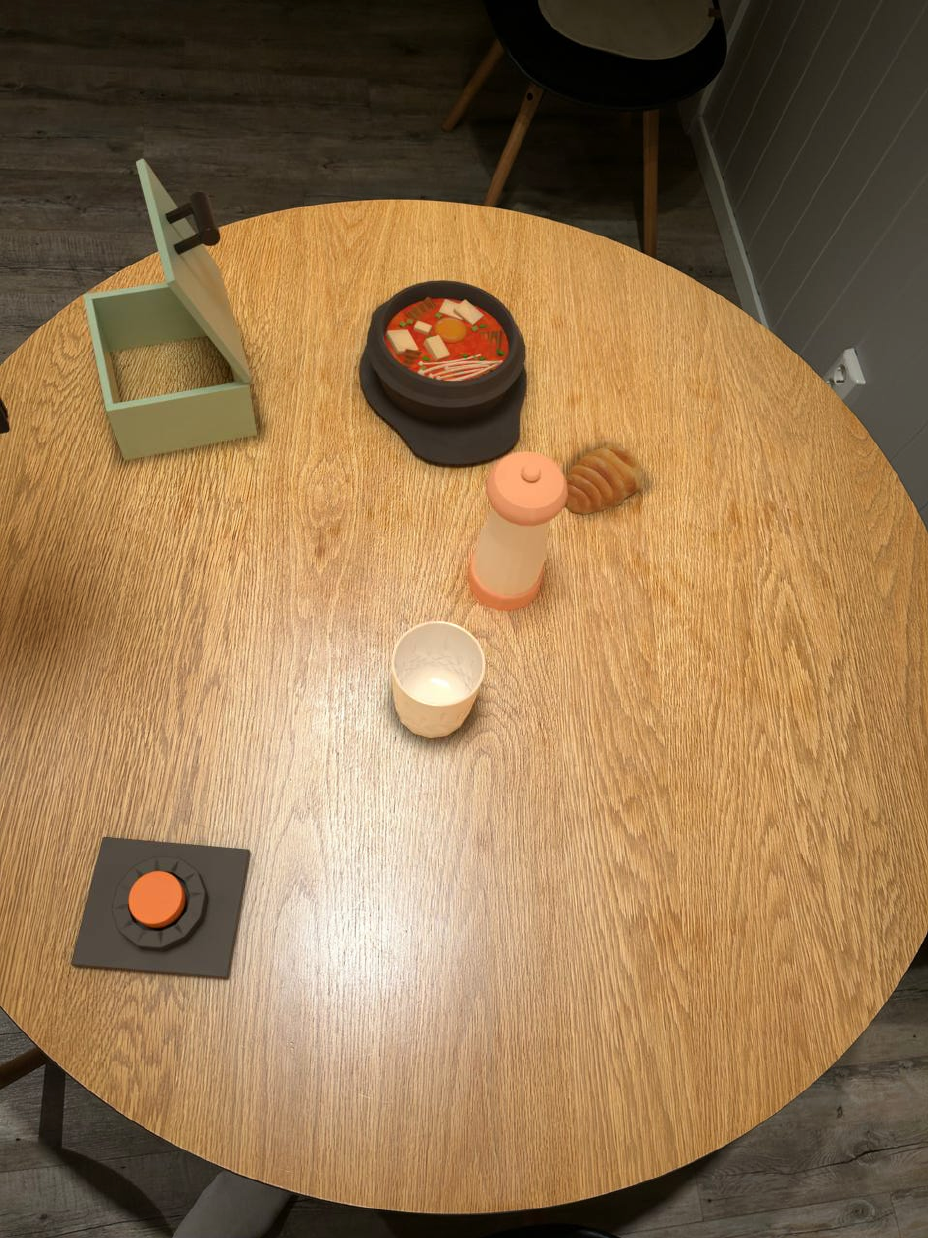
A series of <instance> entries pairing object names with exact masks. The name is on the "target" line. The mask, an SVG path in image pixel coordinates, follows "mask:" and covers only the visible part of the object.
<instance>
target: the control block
mask: <svg viewBox="0 0 928 1238" xmlns="http://www.w3.org/2000/svg"><path fill="white" fill-rule="evenodd" d="M251 854H252V853H251V851H250V849H248V848H247V849H246V848H236V847H225V846H212V845H204V844H203V845H201V844H191V843H178V842H169V841H157V840H145V839H133V838H122V837H112V836H111V837H110V836H102V837H101V842H100V846H99V850H98V854H97V858H96V862H95V865H94V870H93V874H92V878H91V883H90V886H89V891H88V894H87V898H86V901H85V905H84V909H83V915H82V918H81V921H80V927H79V930H78V934H77V938H76V942H75V946H74V950H73V953H72V958H71V962H70V965H71V966H73V967H75V968H86V969H99V970H111V971H123V972H135V973H145V974H147V973H148V974H160V975H171V976H183V977H185V976H186V977H197V978H209V979H219V980H220V979H223V980H229V979H230V977H231V976H230V975H231V969H232V965H233V959H234V958H233V957H234V951H235V945H236V941H237V935H238V929H239V924H240V917H241V912H242V906H243V900H244V894H245V890H246V889H245V888H246V883H247V877H248V870H249V865H250V860H251V856H252V855H251ZM154 871H164V872H167V873H170V874H171V875H173V876H174V877H175V878H176V879H177V880H178V881H179V882H180V884H181V885H182V886H183V888H184V891H185V895H186V902H185V906H184V909H183V911H182V913H181V914H180V916H179V917H178V918H177V919H176V920H175V921H174V922H172V923H171V924H169V925H167V926H165V927H160V928H152V927H148V926H146V925H144V924H142V923H141V922H140V921H138V920H137V919H136V918H135V917H134V916H133V915H132V913H131V911H130V908H129V902H128V901H129V894H130V891H131V889H132V887H133V885H134V884H135V882H136V881H137V880H138V879H139V878H141V877H142V876H144V875H145V874H147V873H150V872H154Z"/></svg>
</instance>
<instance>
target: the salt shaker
mask: <svg viewBox="0 0 928 1238" xmlns="http://www.w3.org/2000/svg"><path fill="white" fill-rule="evenodd" d="M566 478H567V477H565V474H564V472H563V470H562V469H561V468H560V467H559V466H558V465H557V464H556V463H555V462H554V461H553V459H550V458H549V457H547V456H546V455H544V454H541V453H538V452H535V451H525V450H524V451H518V452H513V453H509V454H508V455H505V456H503V457H502V458H500V459H498V460H497V461H496V463H495V464H494V465H493V466H492V468H491V469H490V471H488V474H487V477H486V479H485V494H486V496H487V499H488V502H489V504H490V506H489V512H488V516H487V518H486V520H485V522H484V524H483V526H482V528H481V530H480V532H479V534H478V537H477V540H476V546H475V549H474V550H473V552H472V555H471V557H470V561H469V564H468V569H467V583H468V586H469V588H470V591H471V593H472V594H473V596H474V597H475V598H476V599H477V601H479V603H481V604H483V605H485V606H486V607H487V608H491V609H494V610H497V611H502V612H503V611H504V612H512V611H516V610H521V609H523V608H525V607H526V606H527V605H529V604H531V603H532V602H533V600H534V599H535V598H536V597H537V596H538V593H539V590H540V587H541V583H542V581H543V577H544V574H545V573H544V571H545V570H544V564H545V561H546V558H547V555H548V533H549V532H548V530H549V527H550V524H551V522H552V521H551V520H553V519H555V518H556V517H558V515H559V514H561V512H562V510H563V509H564V508H566V507H565V504H566V501H567V498H568V490H567V481H566Z"/></svg>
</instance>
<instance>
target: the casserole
mask: <svg viewBox="0 0 928 1238" xmlns="http://www.w3.org/2000/svg"><path fill="white" fill-rule="evenodd" d="M366 334H367V336H366V345H365V346H364V349H363V352H362V354H361V357H360V361H359V370H358V375H359V381H360V387H361V388H362V391H363V394H364V396H365V399H366V400H367V401H368V403H369V404H370V406H372V408H373V409H374V410H375V412H376V413H378V414H379V415H380V416H381V417H382V418H383V419H384V420H385V421H386V422H387V423H388V424H390V425H391V426H392V427H393V428H394V429H395V430H396V431H398V433H399V435H400V436H401V437H402V438H403V439H404V441H405V442H406V444H407V445H408V446H409V447H410V448H411V450H412V451H413V453H414V454H416V455H417V456H419V457H421V458H422V459H424V460H425V461H429V462H434V463H438V464H443V465H468V464H476V463H480V462H484V461H489V460H491V459H493V458H496V457H498V456H500V455H503V454H504V453H506V452H507V451H509V450H510V449H512V448H513V447H514V446H515V444H516V443H517V442H518V439H519V438H520V433H521V432H520V431H521V430H520V429H521V410H522V405H523V402H524V398H525V396H526V395H525V394H526V391H527V387H528V383H527V382H528V380H527V371H526V367H525V360H526V344H525V340H524V336H523V334H522V331H521V330H520V328H519V326H518V324H517V322H516V320H515V318H514V316H513V315H512V313H511V312H510V310H509V308H508V307H506V306H505V304H504V303H503V302H502V301H501V300H499V299H498V298H497V297H496V296H494V295H493V294H492V293H489V292H488V291H486V290H484V289H483V288H480V287H477V286H475V285H473V284H469V283H466V282H461V281H455V280H445V279H442V280H441V279H440V280H439V279H438V280H428V281H427V280H426V281H424V282H423V281H422V282H418V283H415V284H412V285H409V286H407V287H404V288H403V289H402V290H400V291H398V292H396V293H395V294H393V296H391V298H390V299H389V300H387V301H385V302H383V303H381V304H380V305H378V306H377V307H376V309H375V310H374V311H373V313H371V319H370V323H369V328H368V330H367V333H366Z"/></svg>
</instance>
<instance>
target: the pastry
mask: <svg viewBox="0 0 928 1238" xmlns="http://www.w3.org/2000/svg"><path fill="white" fill-rule="evenodd" d="M565 478H566V481H567V490H568V498H567V501H566V504H565V507H564V508H566V509H567V510H568V511H569V512H570V513H574V514H578V515H582V516H588V515H590V514H594V513H598V512H604V511H605V510H608V509H609V508H612V507H617V506H619V505H621V504H623V501H624V500H625V499H628V498H629V497H630V496H632V495H633V494H635V493H637V492H638V491H639V490H642V489H643V488H644V487H645V480H644V474H643V471H642V470H641V465H640V462H639V460H638V459H637V458H636V457H635V455H633V453H632V452H630V450H629V449H628V448H625V447H622V446H621V445H619V444H617V443H616V444H615V443H607V444H606V445H604V446H603V447H600V448H597V449H595V450H591V451H589V452H587V453H586V455H585V456H583V457H582V458H580V459H579V460H578V461H576V462H575V464H574V465H573V466H572V467H571V469H570V471H569V473H567V475H566V477H565Z"/></svg>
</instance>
